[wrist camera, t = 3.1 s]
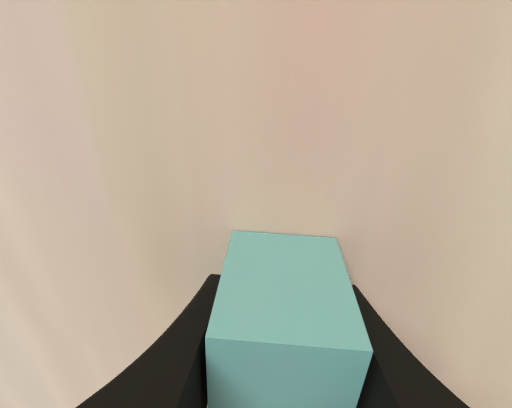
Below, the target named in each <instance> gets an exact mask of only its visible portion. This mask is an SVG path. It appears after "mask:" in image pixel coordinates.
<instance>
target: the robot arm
mask: <svg viewBox="0 0 512 408" xmlns="http://www.w3.org/2000/svg"><path fill="white" fill-rule="evenodd" d="M220 277H221V275H216V274H211V275H210V276H208V278H207V279H206V281H205V282H204V284H203V285H202V287H201V288H200V290H199V291H198V292H197V294H196V295H195V296H194V298H193V299H192V300H191V302H190V303H189V304H188V305H187V307H186V308H185V309H184V310H183V312H182V313H181V314H180V315H179V316H178V318H177V319H176V320H175V321H174V322H173V323H172V324H171V325H170V326H169V328H168V329H167V330H166V331H165V332H164V333H163V334H162V335H161V336H160V337H159V338H158V339H157V340H156V341H155V342H154V343H153V344H152V345H151V346H150V347H149V348H148V349H147V350H146V351H145V352H144V353H143V354H142V355H141V356H140V357H139V358H138V359H136V360H135V361H134V362H133V363H132V364H131V365H129V366H128V367H127V368H126V369H125V370H124V371H123V372H121V373H120V374H119V375H118V376H117V377H115V378H114V379H113V380H112V381H110V382H109V383H108V384H107V385H105V386H104V387H103V388H101V389H100V390H99V391H97V392H96V393H95V394H93V395H92V396H91V397H89V398H88V399H87V400H85V401H84V402H83V403H81V404H80V405H79V406H77V407H76V408H207V404H208V396H207V372H206V349H205V336H206V332H207V328H208V324H209V320H210V316H211V312H212V308H213V304H214V301H215V297H216V293H217V289H218V285H219V281H220ZM352 288H353V291H354V294H355V297H356V300H357V303H358V306H359V309H360V312H361V315H362V318H363V321H364V325H365V328H366V331H367V334H368V337H369V340H370V343H371V346H372V349H373V354H372V357H371V361H370V364H369V367H368V370H367V374H366V377H365V380H364V383H363V386H362V390H361V393H360V396H359V399H358V403H357V406H356V408H470V407H468V406H467V405H466V404H465V403H464V402H462V401H461V400H460V399H459V398H458V397H457V396H455V395H454V394H453V393H452V392H451V391H450V390H449V389H448V388H446V387H445V386H444V385H443V384H442V383H441V382H440V381H439V380H438V379H437V378H436V377H435V376H434V375H433V374H432V373H431V372H430V371H429V370H427V369H426V368H425V367H424V366H423V365H422V364H421V363H420V362H419V361H418V360H417V358H416V357H415V356H414V355H413V354H412V353H411V352H410V351H409V350H408V349H407V348H406V347H405V346H404V344H403V343H402V342H401V341H400V340H399V339H398V338H397V337H396V335H395V334H394V333H393V332H392V331H391V329H390V328H389V327H388V326H387V325H386V324H385V322H384V321H383V320H382V319H381V317H380V316H379V315H378V314H377V312H376V311H375V310H374V309H373V307H372V306H371V305H370V303H369V302H368V301H367V300H366V298H365V297H364V296H363V294H362V293H361V292H360V290H359V289H358V288H357V287H356V286H355V285H352Z"/></svg>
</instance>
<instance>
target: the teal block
mask: <svg viewBox="0 0 512 408" xmlns="http://www.w3.org/2000/svg"><path fill="white" fill-rule="evenodd" d="M205 349H206V372H207V396H208V408H356V406H357V403H358V399H359V396H360V393H361V390H362V386H363V383H364V380H365V377H366V374H367V370H368V367H369V364H370V361H371V357H372V354H373V349H372V346H371V343H370V340H369V337H368V334H367V331H366V328H365V325H364V321H363V318H362V315H361V312H360V309H359V306H358V303H357V300H356V297H355V294H354V291H353V288H352V285H351V282H350V278H349V275H348V272H347V269H346V266H345V263H344V260H343V257H342V254H341V251H340V248H339V245H338V242H337V239H336V238H331V237H316V236H302V235H288V234H273V233H259V232H245V231H232V234H231V238H230V242H229V246H228V250H227V254H226V258H225V261H224V265H223V269H222V273H221V277H220V281H219V285H218V289H217V293H216V297H215V301H214V304H213V308H212V312H211V316H210V320H209V324H208V328H207V332H206V336H205Z"/></svg>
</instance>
